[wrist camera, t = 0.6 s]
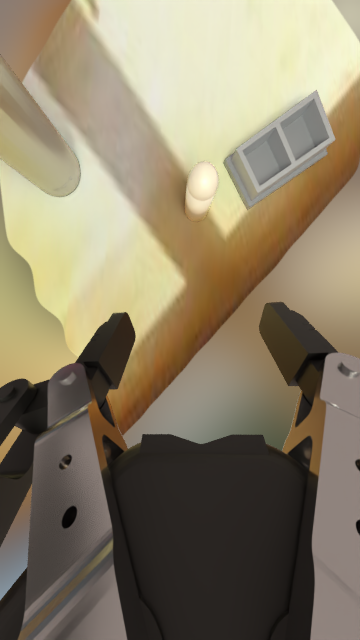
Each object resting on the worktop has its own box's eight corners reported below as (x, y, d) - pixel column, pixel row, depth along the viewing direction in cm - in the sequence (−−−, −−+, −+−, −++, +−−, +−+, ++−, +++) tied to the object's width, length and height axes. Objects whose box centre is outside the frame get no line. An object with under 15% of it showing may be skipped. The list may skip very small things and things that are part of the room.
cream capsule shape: (180, 204, 31) (181, 165, 21) (200, 190, 31) (211, 143, 21) (192, 226, 32) (200, 198, 22) (212, 212, 32) (229, 177, 22)
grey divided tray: (223, 163, 30) (229, 146, 27) (302, 106, 29) (319, 81, 25) (247, 210, 32) (256, 200, 28) (322, 158, 30) (341, 141, 27)
